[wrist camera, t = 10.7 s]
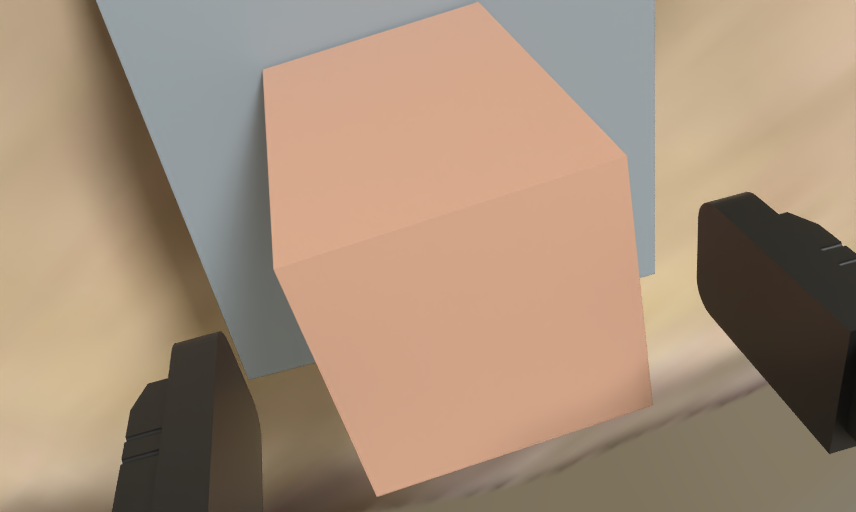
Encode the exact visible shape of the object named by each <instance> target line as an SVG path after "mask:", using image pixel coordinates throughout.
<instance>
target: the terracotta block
mask: <svg viewBox="0 0 856 512" xmlns="http://www.w3.org/2000/svg"><path fill="white" fill-rule="evenodd" d="M263 86H264V104H265V123H266V141H267V159H268V178H269V196H270V214H271V233H272V251H273V269H274V272H275V274H276V276H277V278H278V280H279V283H280V285H281V287H282V289H283V291H284V294H285V296H286V298H287V300H288V302H289V305H290V307H291V309H292V311H293V313H294V316H295V318H296V320H297V322H298V324H299V327H300V329H301V331H302V333H303V335H304V338H305V340H306V342H307V344H308V346H309V349H310V351H311V353H312V355H313V357H314V360H315V362H316V364H317V366H318V368H319V371H320V373H321V375H322V377H323V379H324V382H325V384H326V386H327V388H328V390H329V393H330V395H331V397H332V399H333V401H334V404H335V406H336V408H337V410H338V412H339V415H340V417H341V419H342V421H343V423H344V426H345V428H346V430H347V432H348V434H349V437H350V439H351V441H352V443H353V445H354V448H355V450H356V452H357V454H358V456H359V459H360V461H361V463H362V465H363V467H364V470H365V472H366V474H367V476H368V478H369V481H370V483H371V485H372V487H373V489H374V492H375V494H376V496H377V497H378V496H381V495H384V494H387V493H390V492H393V491H396V490H399V489H402V488H405V487H408V486H411V485H414V484H417V483H420V482H423V481H426V480H429V479H432V478H435V477H438V476H441V475H444V474H447V473H450V472H453V471H456V470H459V469H462V468H465V467H468V466H471V465H474V464H477V463H480V462H483V461H486V460H489V459H492V458H495V457H499V456H502V455H505V454H508V453H511V452H514V451H517V450H520V449H523V448H526V447H529V446H532V445H535V444H538V443H541V442H544V441H547V440H550V439H553V438H556V437H559V436H562V435H565V434H568V433H571V432H574V431H577V430H580V429H583V428H586V427H589V426H592V425H595V424H598V423H601V422H604V421H607V420H610V419H613V418H616V417H619V416H622V415H625V414H628V413H631V412H634V411H637V410H640V409H643V408H646V407H649V406H652V405H653V402H652V393H651V383H650V373H649V364H648V354H647V344H646V335H645V325H644V315H643V306H642V296H641V286H640V277H639V267H638V257H637V248H636V238H635V228H634V219H633V209H632V199H631V190H630V180H629V171H628V161H627V155H626V154H625V153H624V152H623V151H622V150H621V149H620V148H619V147H618V146H617V145H616V144H615V143H614V142H613V141H612V140H611V139H610V138H609V137H608V136H607V134H606V133H605V132H604V131H603V130H602V129H601V128H600V127H599V126H598V125H597V124H596V123H595V122H594V121H593V120H592V119H591V118H590V117H589V116H588V115H587V114H586V113H585V112H584V111H583V110H582V109H581V108H580V107H579V105H578V104H577V103H576V102H575V101H574V100H573V99H572V98H571V97H570V96H569V95H568V94H567V93H566V92H565V91H564V90H563V89H562V88H561V87H560V86H559V85H558V84H557V83H556V82H555V81H554V80H553V79H552V78H551V76H550V75H549V74H548V73H547V72H546V71H545V70H544V69H543V68H542V67H541V66H540V65H539V64H538V63H537V62H536V61H535V60H534V59H533V58H532V57H531V56H530V55H529V54H528V53H527V52H526V51H525V50H524V49H523V47H522V46H521V45H520V44H519V43H518V42H517V41H516V40H515V39H514V38H513V37H512V36H511V35H510V34H509V33H508V32H507V31H506V30H505V29H504V28H503V27H502V26H501V25H500V24H499V23H498V22H497V21H496V20H495V18H494V17H493V16H492V15H491V14H490V13H489V12H488V11H487V10H486V9H485V8H484V7H483V6H482V5H481V4H480V3H479V2H476V3H473V4H470V5H467V6H464V7H461V8H457V9H454V10H451V11H448V12H445V13H441V14H438V15H435V16H432V17H429V18H426V19H422V20H419V21H416V22H413V23H410V24H406V25H403V26H400V27H397V28H394V29H391V30H387V31H384V32H381V33H378V34H375V35H371V36H368V37H365V38H362V39H359V40H356V41H352V42H349V43H346V44H343V45H340V46H336V47H333V48H330V49H327V50H324V51H321V52H317V53H314V54H311V55H308V56H305V57H301V58H298V59H295V60H292V61H289V62H286V63H282V64H279V65H276V66H273V67H270V68H266V69H263Z"/></svg>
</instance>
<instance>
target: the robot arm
mask: <svg viewBox="0 0 856 512" xmlns="http://www.w3.org/2000/svg"><path fill="white" fill-rule="evenodd" d="M697 285H698V290H699V294H700V297H701V300H702V302H703V304H704V306H705V308H706V310H707V311H708V313H709V314H710V315H711V317H712V318H713V319H714V320H715V321H716V323H717V324H718V325H719V326H720V327H721V328H722V329H723V331H724V332H725V333H726V334H727V335H728V336H729V338H730V339H731V340H732V341H733V342H734V343H735V345H736V346H737V347H738V348H739V349H740V350H741V352H742V353H743V354H744V355H745V356H746V357H747V359H748V360H749V361H750V362H751V363H752V364H753V366H754V367H755V368H756V369H757V370H758V371H759V373H760V374H761V375H762V376H763V377H764V378H765V380H766V381H767V382H768V383H769V384H770V385H771V387H772V388H773V389H774V390H775V391H776V392H777V393H778V395H779V396H780V397H781V398H782V399H783V400H784V401H785V403H786V404H787V405H788V406H789V408H791V410H792V411H793V412H794V413H795V415H796V416H797V417H798V418H799V419H800V420H801V421H802V423H803V424H804V425H805V426H806V427H807V429H808V430H809V431H810V432H811V433H812V434H813V435H814V437H815V438H816V439H817V440H818V441H819V442H820V444H821V445H822V446H823V447H824V448H825V449H826V451H827V452H828V453H829V454H831V453H834V452H837V451H841V450H844V449H848V448H851V447H854V446H856V253H855V252H853V251H852V250H851V249H849V248H848V247H847V246H842V243H841V241H839V240H838V239H837V238H835V237H834V236H833V235H832V234H830V233H829V232H828V231H827V230H825V229H824V228H823V227H821V226H820V225H819V224H816V223H814V222H811V221H809V220H806V219H804V218H801V217H798V216H796V215H793V214H791V213H788V212H786V213H783V214H778V213H776V212H775V211H774V210H773V209H772V208H770V207H769V206H768V205H767V204H766V203H764V202H763V201H762V200H761V199H759V198H758V197H757V196H756V195H754V194H753V193H750V192H745V193H741V194H737V195H733V196H730V197H726V198H722V199H718V200H715V201H711V202H707V203H704V204H703V205H702V206H701V208H700V210H699V216H698V251H697ZM126 440H127V442H125V443H124V449H123V454H122V462H123V464H122V465H120V470H119V476H118V481H117V487H116V492H115V498H114V503H113V509H112V512H263V492H262V448H261V430H260V424H259V419H258V415H257V411H256V407H255V404H254V401H253V399H252V396H251V394H250V392H249V389H248V387H247V385H246V382H245V380H244V378H243V375H242V373H241V371H240V368H239V366H238V364H237V361H236V359H235V357H234V354H233V352H232V350H231V347H230V345H229V343H228V341H227V339H226V337H225V335H224V334H223V333H222V332H216V333H213V334H209V335H205V336H201V337H198V338H194V339H190V340H186V341H183V342H179V343H175V344H174V345H173V347H172V353H171V361H170V369H169V376H168V378H167V379H164V380H160V381H156V382H152V383H149V384H147V386H146V387H145V389H144V391H143V392H142V394H141V395H140V397H139V398H138V400H137V401H136V403H135V404H134V406H133V407H132V409H131V410H130V416H129V421H128V427H127V432H126Z"/></svg>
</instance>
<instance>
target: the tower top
mask: <svg viewBox="0 0 856 512" xmlns="http://www.w3.org/2000/svg"><path fill="white" fill-rule="evenodd" d="M96 2H97V4H98V7H99V9H100V12H101V14H102V17H103V19H104V22H105V24H106V27H107V29H108V32H109V34H110V37H111V39H112V42H113V44H114V47H115V49H116V52H117V54H118V57H119V59H120V61H121V64H122V66H123V69H124V71H125V74H126V76H127V79H128V81H129V84H130V86H131V89H132V91H133V94H134V96H135V99H136V101H137V104H138V106H139V109H140V111H141V114H142V116H143V119H144V121H145V124H146V126H147V129H148V131H149V134H150V136H151V138H152V141H153V143H154V146H155V148H156V151H157V153H158V156H159V158H160V161H161V163H162V166H163V168H164V171H165V173H166V176H167V178H168V181H169V183H170V186H171V188H172V191H173V193H174V196H175V198H176V201H177V203H178V206H179V208H180V211H181V213H182V216H183V218H184V220H185V223H186V225H187V228H188V230H189V233H190V235H191V238H192V240H193V243H194V245H195V248H196V250H197V253H198V255H199V258H200V260H201V263H202V265H203V268H204V270H205V273H206V275H207V278H208V280H209V283H210V285H211V288H212V290H213V293H214V295H215V297H216V300H217V302H218V305H219V307H220V310H221V312H222V315H223V317H224V320H225V322H226V325H227V327H228V330H229V332H230V335H231V337H232V340H233V342H234V345H235V347H236V350H237V352H238V355H239V357H240V360H241V362H242V365H243V367H244V370H245V372H246V375H247V377H248V379H249V380H251V379H255V378H259V377H262V376H266V375H270V374H274V373H278V372H282V371H285V370H289V369H293V368H297V367H301V366H305V365H308V364H312V363H316V362H315V360H314V357H313V355H312V353H311V351H310V349H309V346H308V344H307V342H306V340H305V338H304V335H303V333H302V331H301V329H300V327H299V324H298V322H297V320H296V318H295V316H294V313H293V311H292V309H291V307H290V305H289V302H288V300H287V298H286V296H285V294H284V291H283V289H282V287H281V285H280V283H279V280H278V278H277V276H276V274H275V272H274V269H273V251H272V233H271V214H270V196H269V178H268V159H267V141H266V123H265V104H264V86H263V69H266V68H270V67H273V66H276V65H279V64H282V63H286V62H289V61H292V60H295V59H298V58H301V57H305V56H308V55H311V54H314V53H317V52H321V51H324V50H327V49H330V48H333V47H336V46H340V45H343V44H346V43H349V42H352V41H356V40H359V39H362V38H365V37H368V36H371V35H375V34H378V33H381V32H384V31H387V30H391V29H394V28H397V27H400V26H403V25H406V24H410V23H413V22H416V21H419V20H422V19H426V18H429V17H432V16H435V15H438V14H441V13H445V12H448V11H451V10H454V9H457V8H461V7H464V6H467V5H470V4H473V3H476V2H479V3H480V4H481V5H482V6H483V7H484V8H485V9H486V10H487V11H488V12H489V13H490V14H491V15H492V16H493V17H494V18H495V20H496V21H497V22H498V23H499V24H500V25H501V26H502V27H503V28H504V29H505V30H506V31H507V32H508V33H509V34H510V35H511V36H512V37H513V38H514V39H515V40H516V41H517V42H518V43H519V44H520V45H521V46H522V47H523V49H524V50H525V51H526V52H527V53H528V54H529V55H530V56H531V57H532V58H533V59H534V60H535V61H536V62H537V63H538V64H539V65H540V66H541V67H542V68H543V69H544V70H545V71H546V72H547V73H548V74H549V75H550V76H551V78H552V79H553V80H554V81H555V82H556V83H557V84H558V85H559V86H560V87H561V88H562V89H563V90H564V91H565V92H566V93H567V94H568V95H569V96H570V97H571V98H572V99H573V100H574V101H575V102H576V103H577V104H578V105H579V107H580V108H581V109H582V110H583V111H584V112H585V113H586V114H587V115H588V116H589V117H590V118H591V119H592V120H593V121H594V122H595V123H596V124H597V125H598V126H599V127H600V128H601V129H602V130H603V131H604V132H605V133H606V134H607V136H608V137H609V138H610V139H611V140H612V141H613V142H614V143H615V144H616V145H617V146H618V147H619V148H620V149H621V150H622V151H623V152H624V153H625V154H626V155H627V161H628V171H629V180H630V190H631V199H632V209H633V219H634V228H635V238H636V248H637V257H638V267H639V277H640V278H641V277H645V276H649V275H652V274H655V0H96Z"/></svg>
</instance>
